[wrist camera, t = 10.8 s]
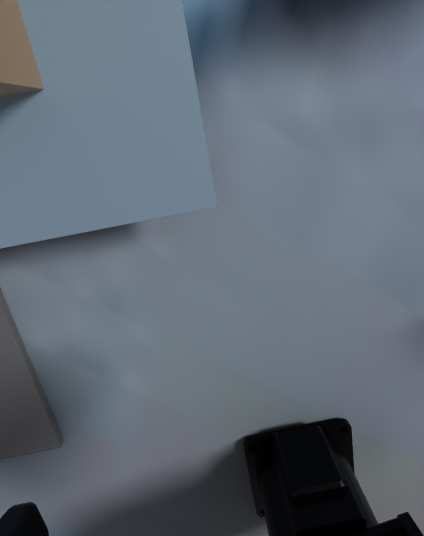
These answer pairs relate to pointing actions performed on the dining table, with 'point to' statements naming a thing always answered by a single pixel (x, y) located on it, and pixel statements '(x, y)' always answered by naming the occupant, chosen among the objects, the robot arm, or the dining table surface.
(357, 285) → the dining table surface
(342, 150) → the dining table surface
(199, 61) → the dining table surface
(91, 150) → the cover
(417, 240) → the dining table surface
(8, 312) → the mat
